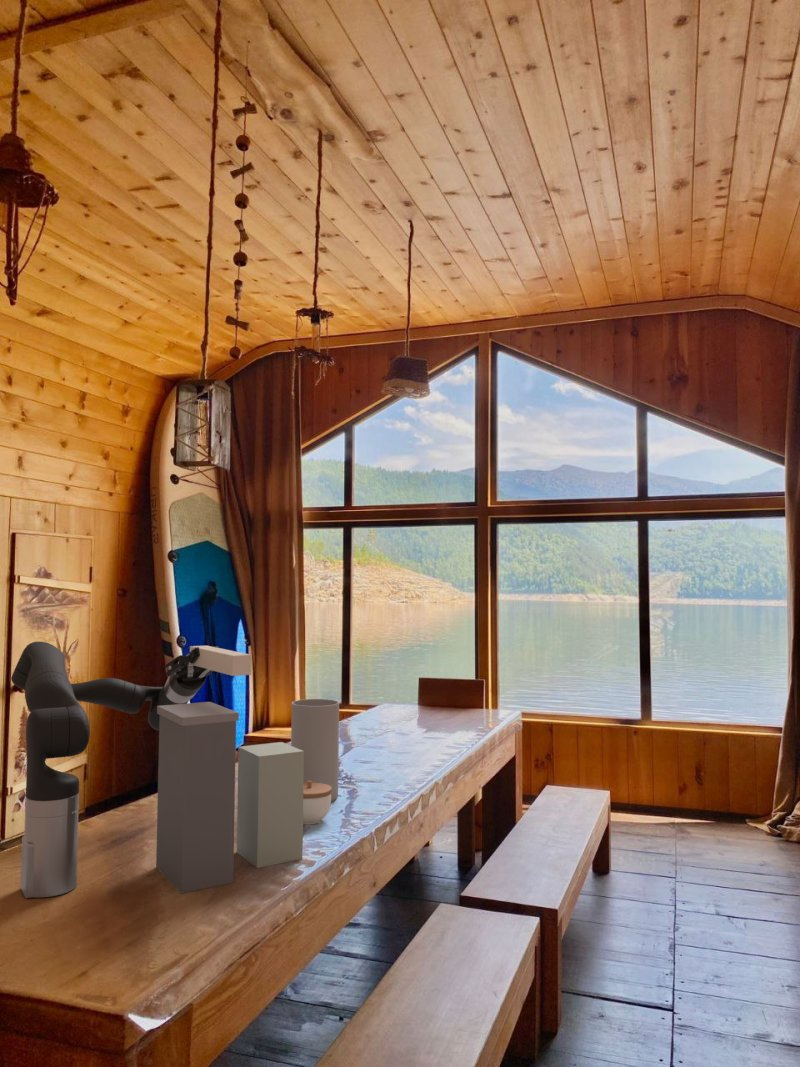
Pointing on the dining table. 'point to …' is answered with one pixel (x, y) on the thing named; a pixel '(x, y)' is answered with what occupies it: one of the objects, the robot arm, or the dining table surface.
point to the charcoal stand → (196, 795)
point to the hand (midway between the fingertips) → (208, 650)
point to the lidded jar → (315, 802)
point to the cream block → (223, 660)
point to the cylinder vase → (317, 739)
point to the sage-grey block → (270, 803)
